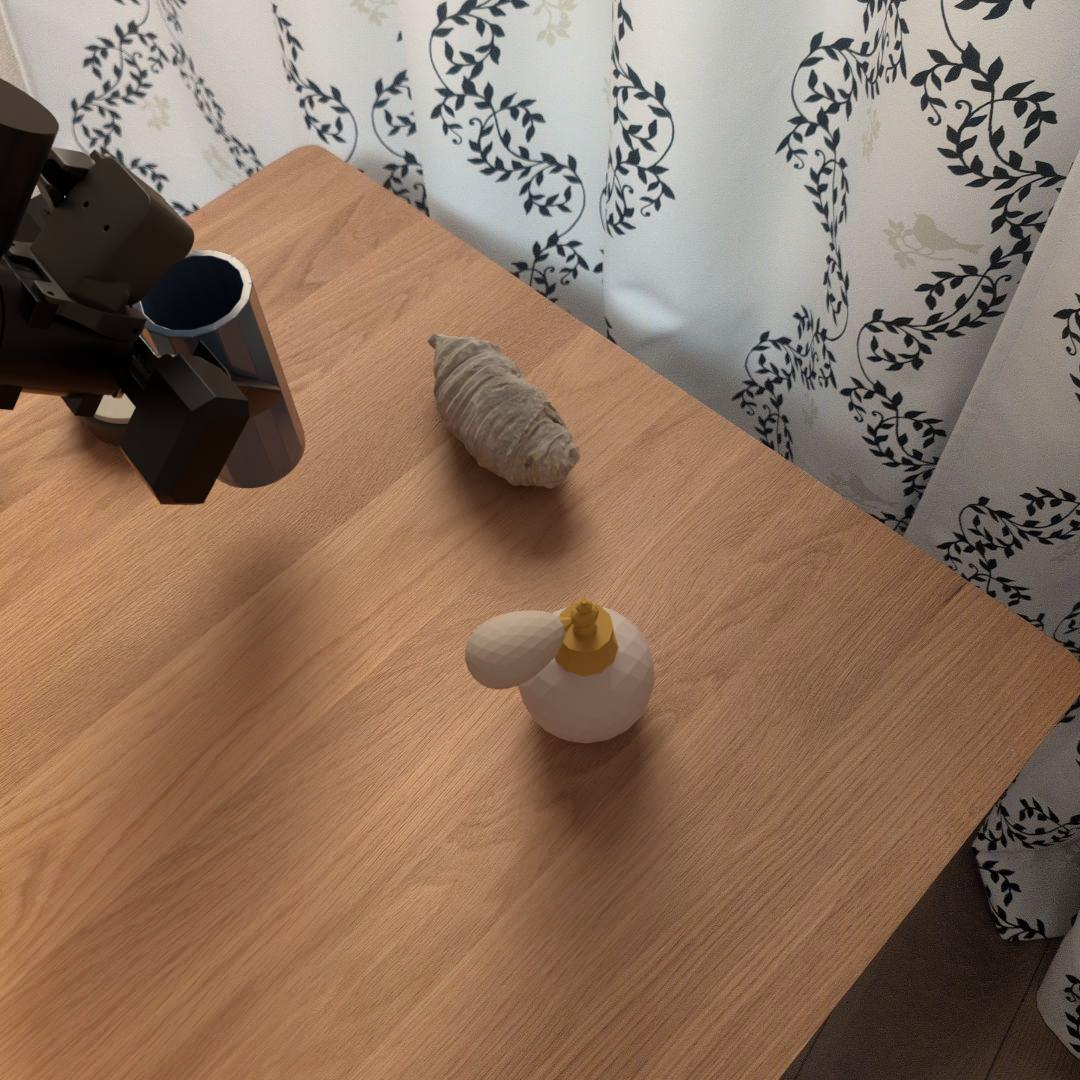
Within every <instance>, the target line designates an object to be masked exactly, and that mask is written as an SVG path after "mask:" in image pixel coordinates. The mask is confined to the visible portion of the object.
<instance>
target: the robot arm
mask: <svg viewBox="0 0 1080 1080" xmlns="http://www.w3.org/2000/svg"><path fill="white" fill-rule="evenodd" d="M59 130H60V123H59V121H58V120H57V118H56V117H55V115H54V114H53V113H52V112H51V111H50V110H49V109H48V108H47V107H46V106H45V105H43V104H42V103H41V102H40V101H39V100H37V99H36V98H34V97H33V96H31V95H30V94H28V93H27V92H25V91H24V90H22V89H20V88H19V87H17V86H16V85H14V84H12V83H11V82H9V81H7V80H5V79H3V78H2V77H0V410H5V411H14V409H15V407H16V405H17V403H18V400H19V397H20V396H21V394H23V393H24V394H34V395H42V396H43V395H44V396H52V397H60V398H61V400H62V401H63V402H64V404H65V405H66V406H67V407H68V408H69V410H70V411H71V413H72V414H73V416H75V417H80V416H84V417H94V415H95V413H96V411H97V409H98V407H99V405H100V403H101V400H102V398H103V396H104V395H108V396H109V395H111V396H112V397H113V398H117V399H120V398H122V397H123V395H124V393H125V395H126V396H127V397H128V398H129V400H130V401H131V402H132V404H133V405H134V406H135V407H136V408H135V410H134V412H133V414H132V416H131V418H130V420H129V422H128V424H127V426H126V428H125V430H124V432H123V434H122V436H121V438H120V441H119V443H118V445H119V446H118V447H119V449H120V451H121V452H122V454H123V455H124V458H125V460H126V461H127V462H128V463H129V466H130V467H132V469H133V470H134V471H135V473H136V474H137V476H138V477H139V478H140V479H141V481H142V482H143V483H144V485H145V486H146V487H147V488H148V490H149V491H150V492H151V494H152V495H153V496H154V498H155V499H156V500H157V502H158V503H159V505H165V506H166V505H169V506H171V505H172V506H197V505H203V504H205V502H206V500H207V499H208V497H209V495H210V493H211V491H212V489H213V487H214V486H215V484H216V481H218V479H217V478H218V476H219V474H220V472H221V470H222V469H223V467H224V465H225V463H226V461H227V459H228V457H229V455H230V454H231V452H232V450H233V448H234V446H235V444H236V442H237V441H238V439H239V437H240V435H241V433H242V431H243V429H244V427H245V426H246V424H247V422H248V420H249V419H250V418H252V417H254V416H256V415H258V414H260V413H262V412H264V411H266V410H268V409H270V408H272V407H274V406H275V405H276V403H277V401H278V399H279V397H280V395H281V393H282V391H281V390H280V389H279V388H278V387H277V386H274V385H272V384H269V383H266V382H263V381H261V380H257V379H254V378H250V377H246V376H243V375H239V374H236V373H232V372H229V371H227V369H226V368H225V367H224V366H223V365H222V363H221V362H220V361H219V360H218V359H217V358H216V357H215V355H214V354H213V353H212V352H211V351H210V350H209V348H208V347H207V346H206V345H205V344H204V343H203V342H202V341H201V340H200V341H199V343H198V345H197V347H196V349H195V351H194V353H193V355H192V356H191V355H185V354H178V355H177V356H176V355H172V354H164V355H163V356H160V354H159V353H158V352H157V351H156V350H155V348H154V347H153V346H152V345H151V344H150V342H149V341H148V340H147V339H146V338H145V336H144V335H143V333H142V329H143V327H144V325H145V323H146V321H147V319H146V318H145V317H144V316H143V314H142V313H141V312H140V311H139V310H138V309H135V308H132V305H134V304H136V303H138V302H139V301H141V300H142V299H143V298H144V297H145V296H146V295H147V294H148V292H149V291H150V290H151V289H152V288H153V287H154V286H155V285H156V284H157V283H158V281H159V280H160V279H161V278H162V277H163V276H164V275H165V274H166V273H167V271H168V270H169V269H170V268H171V267H172V266H173V265H174V264H175V263H176V262H179V261H182V260H183V259H184V258H185V257H186V255H187V254H188V253H189V252H190V250H191V251H192V248H193V246H194V243H195V231H194V229H193V228H192V226H191V225H190V224H189V223H188V222H187V221H186V220H185V219H184V218H182V216H180V214H179V213H178V212H177V211H176V210H175V209H174V208H173V207H172V206H171V204H169V203H168V201H167V200H166V198H165V197H164V196H162V195H161V194H160V193H159V192H158V191H156V190H155V189H154V188H153V187H151V186H150V185H148V184H147V182H145V181H144V180H142V179H141V178H140V177H138V175H136V174H135V173H134V172H132V171H131V170H130V169H129V168H128V167H126V166H125V165H124V164H123V163H122V162H120V161H119V159H118V158H117V157H116V156H115V155H114V154H112V153H110V152H109V153H107V152H105V153H101V152H99V151H98V150H97V149H93V150H92V151H91V152H90V153H89V154H87V153H85V152H84V151H79V150H74V149H73V150H72V149H68V148H67V149H66V148H61V147H54V146H53V145H54V143H55V140H56V138H57V136H58V133H59ZM36 187H37V189H38V191H39V193H40V194H38V195H35V196H33V194H34V192H35V190H36ZM32 196H33V197H32Z"/></svg>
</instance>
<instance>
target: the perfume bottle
mask: <svg viewBox="0 0 1080 1080" xmlns="http://www.w3.org/2000/svg"><path fill="white" fill-rule="evenodd" d="M464 661H465V664H466V668H467V669H468V673H470V675H471V676H472V678H473V679H474V680H475V681H476V682H477V683H479V685H480V686H483V687H485V688H486V689H491V690H508V689H512V688H514V687H517V688H518V691H519V694H520V697H521V699H522V703H523V705H524V706H525V709H526V710H527V711H528V713H529V715H530V717H531V718H532V720H534V721H535V723H537V724H538V725H539V726H540V727H541V728H542V729H543V730H544V731H546V732H547V733H548V734H551V735H553V736H554V737H557V738H559V739H561V740H564V741H568V742H572V743H580V744H592V743H598V742H604V741H609V740H611V739H613V738H615V737H616V736H618V735H621V734H623V733H625V732H626V731H628V730H629V729H630V728H631V727H632V726H633V725H634V724H635V723H636V722H637V721H638V720H639V719H640V718H641V717H642V715H643V713H644V712H645V710H646V708H647V706H648V705H649V702H650V699H651V697H652V694H653V693H652V692H653V689H654V685H655V665H654V660H653V656H652V653H651V649H650V645H649V644H648V642H647V641H646V639H645V637H644V636H643V634H642V633H641V631H640V629H639V628H638V627H637V626H636V625H634V623H632V622H631V621H630V620H629V619H627V618H626V617H625V616H624V615H622V614H621V613H618V612H617V611H615V610H613V609H612V608H608V607H604V606H601V605H600V604H597V603H594V602H592V600H590V599H589V598H587V597H585V596H583V597H581V598H580V599H579V600H578V601H577V602H576V603H572V604H570V605H568V606H567V607H565V608H561V609H559V610H555V611H553V612H552V613H551V612H549V611H546V610H545V611H544V610H535V609H534V610H518V611H511V612H506V613H503V614H500V615H497V616H494V617H492V618H489V619H488V620H486V621H484V622H483V623H481V624H479V625H478V626H477V627H476V628H475V629H474V630H473V632H472V633H471V634H470V635H469V637H468V638H467V640H466V645H465V650H464Z"/></svg>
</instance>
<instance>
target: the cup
mask: <svg viewBox="0 0 1080 1080" xmlns="http://www.w3.org/2000/svg"><path fill="white" fill-rule="evenodd" d="M254 285H255V284H254V282H253V279H252V276H251V273H250V271H249V268H248V267H247V266H246V265H245V264H243V262H241V261H240V260H239V259H238V258H237V257H235V256H234V255H232V254H228V253H226V252H223V251H219V250H216V249H191V250H190V252H189V253H188V254H187V255H186V257H185V258H184V259H183V260H182V261H179V262H176V263H175V264H174V265H173V266H172V267H171V268H170V269H169V270H168V271H167V273H166V274H165V275H164V276H163V277H162V278H161V279H160V280H159V281H158V283H157V284H156V285H155V286H154V287H153V288H152V289H151V290H150V291H149V292H148V294H147V295H146V296H145V297H144V298H143V299H142V300H141V301H139V302H138V303H136V304H134V305H132V308H135V309H138V310H139V311H140V312H141V313H142V314H143V316H144V317H145V318H146V319H147V321H146V323H145V325H144V327H143V329H142V333H143V335H144V336H145V338H146V339H147V340H148V341H149V342H150V344H151V345H152V346H153V347H154V348H155V350H156V351H157V352H158V353H159V354H160V356H163V355H164V354H172V355H176V356H177V355H178V354H185V355H191V356H192V355H193V353H194V351H195V349H196V347H197V345H198V343H199V341H200V340H201V341H202V342H203V343H204V344H205V345H206V346H207V347H208V348H209V350H210V351H211V352H212V353H213V354H214V355H215V357H216V358H217V359H218V360H219V361H220V362H221V363H222V365H223V366H224V367H225V368H226V369H227V371H229V372H232V373H236V374H239V375H243V376H246V377H250V378H254V379H257V380H261V381H263V382H266V383H269V384H272V385H274V386H277V387H278V388H279V389H280V390H281V391H282V393H281V395H280V397H279V399H278V401H277V403H276V405H275V406H274V407H272V408H270V409H268V410H266V411H264V412H262V413H260V414H258V415H256V416H254V417H252V418H250V419H249V420H248V422H247V424H246V426H245V427H244V429H243V431H242V433H241V435H240V437H239V439H238V441H237V442H236V444H235V446H234V448H233V450H232V452H231V454H230V455H229V457H228V459H227V461H226V463H225V465H224V467H223V469H222V470H221V472H220V474H219V476H218V478H217V481H219V482H221V483H223V484H225V485H227V486H230V487H233V488H237V489H246V490H247V489H259V488H264V487H267V486H269V485H272V484H274V483H277V482H279V481H280V480H282V479H284V478H285V477H286V476H288V475H289V474H290V473H292V472H293V470H295V468H296V467H297V466H298V464H299V463H300V461H301V460H302V458H303V456H304V453H305V449H306V444H307V443H306V441H307V440H306V434H305V431H304V427H303V425H302V422H301V417H300V415H299V413H298V409H297V407H296V404H295V401H294V398H293V396H292V393H291V390H290V386H289V384H288V381H287V378H286V375H285V372H284V370H283V369H284V368H283V366H282V363H281V361H280V358H279V355H278V351H277V348H276V346H275V344H274V340H273V337H272V335H271V332H270V329H269V326H268V322H267V320H266V317H265V314H264V311H263V308H262V306H261V303H260V300H259V297H258V294H257V291H256V288H255V286H254Z"/></svg>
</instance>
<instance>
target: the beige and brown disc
mask: <svg viewBox="0 0 1080 1080" xmlns="http://www.w3.org/2000/svg"><path fill="white" fill-rule="evenodd" d="M135 408H136V407H135V406H134V405H133V404H132V402H131V401H130V400H129V398H128V397H127V396H126V395H125V393H124V395H123V397H122V398H120V399H117V398H113V397H112V396H111V395H109V396H108V395H104V396H103V398H102V400H101V403H100V405H99V407H98V409H97V411H96V413H95V415H94V417H84V416H79V419H80V420H81V422H82V424H84V426H85V428H86V429H87V430H88V431H89V432H90V434H92V435H93V436H94V437H95V438H97V439H99V440H100V441H102V442H104V443H107V444H109V445H112V446H116V447H119V445H118V443H119V441H120V438H121V436H122V434H123V432H124V430H125V428H126V426H127V424H128V422H129V420H130V418H131V416H132V414H133V412H134V410H135Z"/></svg>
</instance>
